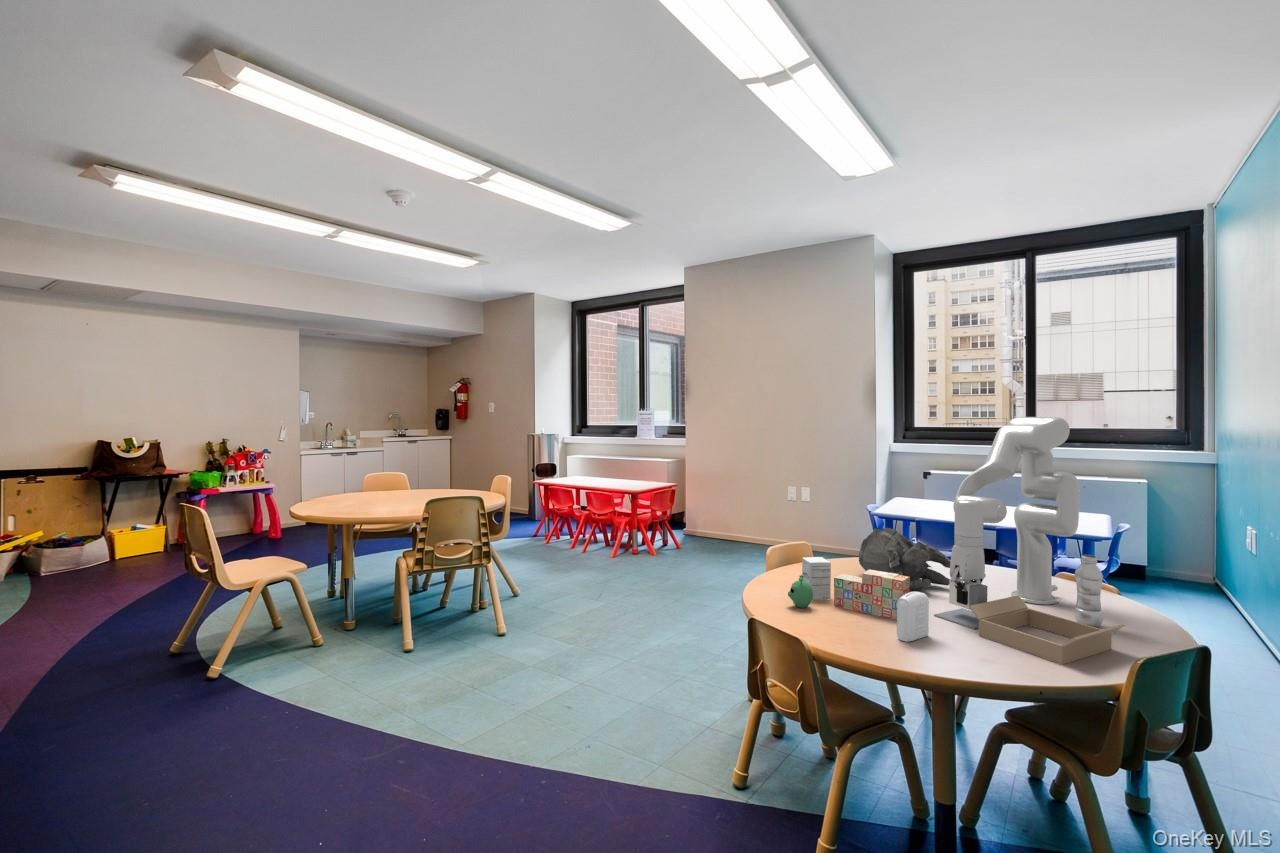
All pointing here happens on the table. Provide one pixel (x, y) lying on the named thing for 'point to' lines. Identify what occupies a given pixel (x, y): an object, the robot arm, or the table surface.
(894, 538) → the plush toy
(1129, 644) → the table surface
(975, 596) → the box
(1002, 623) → the carton
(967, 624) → the mat
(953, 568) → the robot arm
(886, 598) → the stack of blocks
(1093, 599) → the plastic bottle
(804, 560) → the supplement box
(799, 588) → the alien toy
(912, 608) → the photo printer
